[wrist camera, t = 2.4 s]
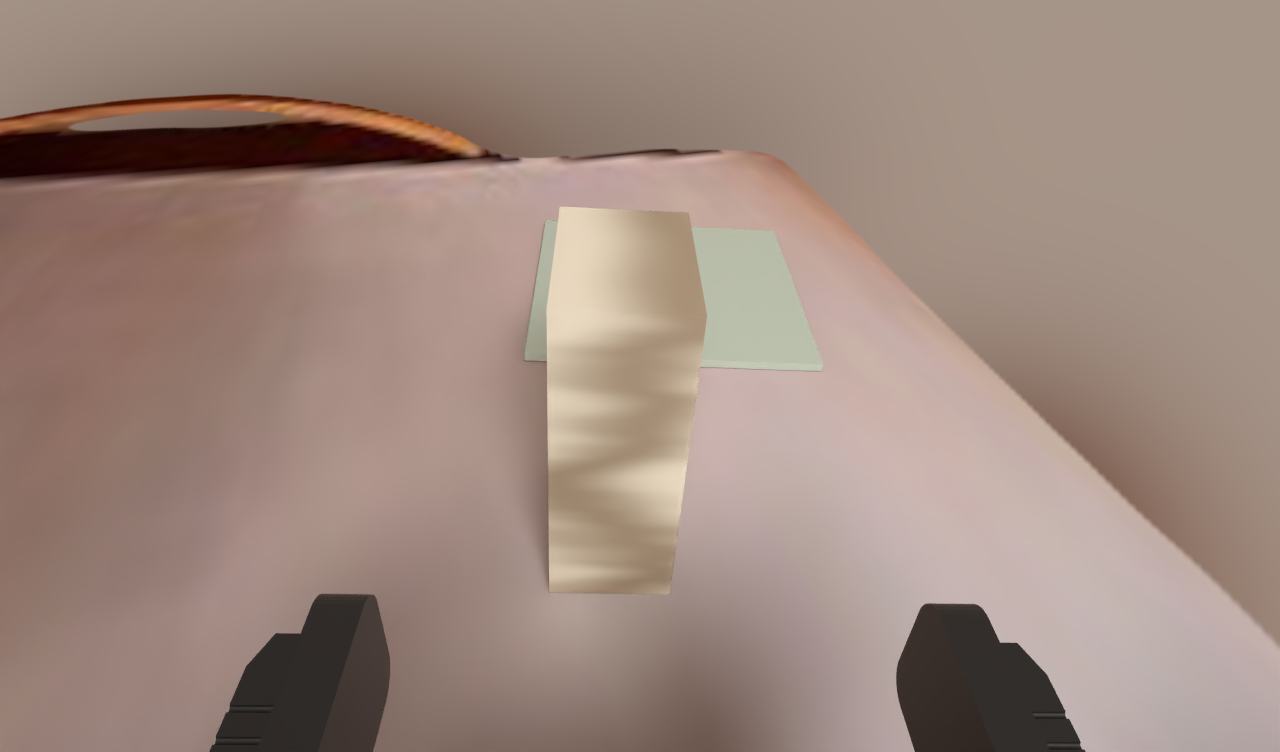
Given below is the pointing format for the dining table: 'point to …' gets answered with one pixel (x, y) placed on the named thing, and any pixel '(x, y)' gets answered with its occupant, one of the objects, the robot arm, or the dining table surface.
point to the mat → (722, 303)
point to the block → (620, 396)
